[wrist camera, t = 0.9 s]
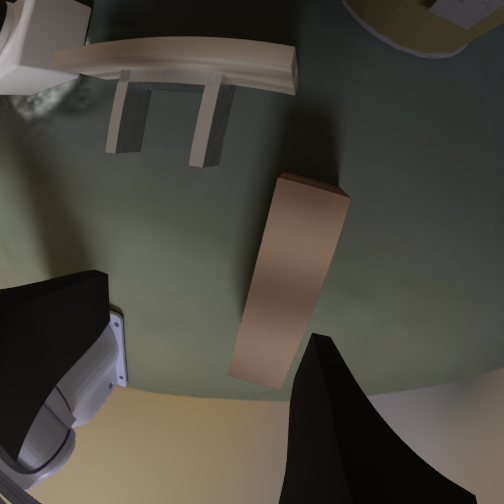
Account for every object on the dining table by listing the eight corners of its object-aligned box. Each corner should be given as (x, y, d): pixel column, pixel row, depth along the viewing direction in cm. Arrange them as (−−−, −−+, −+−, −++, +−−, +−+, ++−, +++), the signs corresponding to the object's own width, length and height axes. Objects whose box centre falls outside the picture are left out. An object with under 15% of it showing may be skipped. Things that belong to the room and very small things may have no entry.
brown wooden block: (286, 343, 21) (279, 389, 17) (243, 331, 22) (227, 375, 17) (338, 186, 17) (351, 198, 12) (285, 171, 17) (277, 177, 13)
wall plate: (295, 95, 15) (290, 67, 10) (105, 79, 17) (49, 67, 11) (298, 81, 15) (295, 46, 9) (108, 67, 16) (53, 52, 11)
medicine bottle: (93, 7, 15) (-9, -32, 3) (81, 78, 17) (-43, 64, 6) (42, 32, 16) (-51, 16, 4) (31, 96, 18) (-72, 99, 7)
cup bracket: (218, 165, 18) (202, 167, 15) (130, 150, 18) (105, 152, 15) (235, 85, 16) (222, 72, 13) (145, 78, 16) (121, 69, 14)
